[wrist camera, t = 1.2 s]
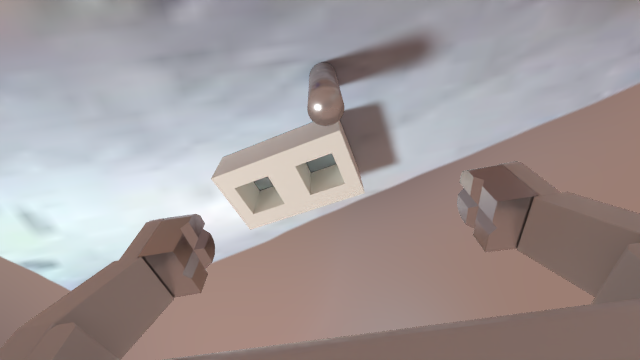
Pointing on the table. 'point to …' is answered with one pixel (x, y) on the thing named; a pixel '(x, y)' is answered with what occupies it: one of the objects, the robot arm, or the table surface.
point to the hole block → (289, 174)
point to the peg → (324, 95)
